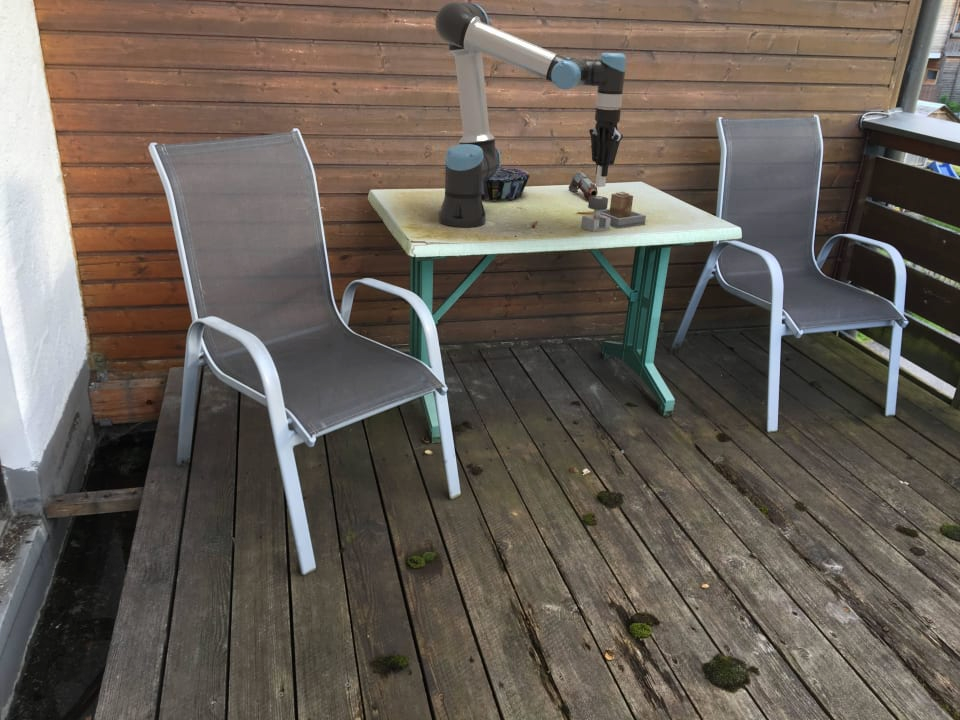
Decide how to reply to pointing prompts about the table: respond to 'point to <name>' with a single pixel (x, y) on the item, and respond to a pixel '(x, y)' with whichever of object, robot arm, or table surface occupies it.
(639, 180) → the table surface
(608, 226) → the axle mount
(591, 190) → the toy gun
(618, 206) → the walnut block
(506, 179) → the decorative bowl
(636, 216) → the chassis bay
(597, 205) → the wheel
